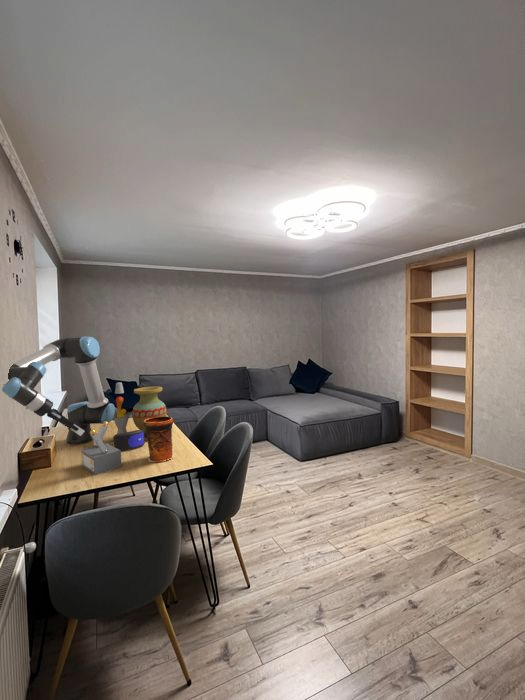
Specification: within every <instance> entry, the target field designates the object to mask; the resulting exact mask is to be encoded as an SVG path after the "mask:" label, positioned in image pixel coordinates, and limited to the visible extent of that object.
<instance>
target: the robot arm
mask: <svg viewBox="0 0 525 700" xmlns="http://www.w3.org/2000/svg"><path fill="white" fill-rule="evenodd" d="M100 347H101V346H100V344H99V342H98V340H97V339H96V338H95V337H93V336H84V335H83V336H72V337H71V336H70V337H69V336H67V337H62V338H60V339H56V340H53V341H52V342H50V343H47V344H45V345H44V346H43V348H42V349H40V350H38V351H35V352H33V353H31V354H29V355H27V356H25V357H23V358H21V359H19V360H17V361H14V362H15V363H14V362H12V363H13V365H12V366H11V367H10V369H9V373H8V379H9V381H8V382H7V383H6V384H3V385H2V388H1V391H2V393H3V394H4V395H6V396H7V397H9V398H10V399H12V400H14V401H15V402H17V403H19V404H20V405H22V406H23V407H25V410H27V411H28V410H30V411H32V412H33V413H34V414H35V415H37V416H38V417H43V416H45V415H46V417H48V418H50V419H52V420H54V421H56V422H58V423H60V424H62V425H63V426H64V427H67V430H68V432H67V435H66V439H65V442H66V443H65V445H68V444H69V445H72V446H75V445H83V444H87V443H91V442H92V441H94V440H93V438H92V436H91V434H90V431H91V430H93V429H92V427H91V425H95V424H96V425H97V424H99V425H100V424H101V425H103V423H104V422H105V421H107V422H108V424H109V423H111V422H112V420H114V419H113V417H114V416H115V414H116V413H115V412H116V408H115V405H114V403H110V401H109V399H108V398H107V397H106V396H105V394H104V389H103V385H102V382H101V379H100V373H99V371H98V367H97V360H98V356H100V352H101V351H100V350H101V348H100ZM63 359H73V361H74V364H76V365H78V367H79V371H80V375H81V378H82V382H83V385H84V388H85V389H84V390H85V392H86V396H87V399H88V401H85V400H84V401H81V402H77V403H72V404H70V405H68V406H67V409H66V410H67V411H66V412H67V413H66V414H67V417H66V416H64V415H63V414H62V413H60V412H59V410H57V409H56V408H53V406H54V402H53V401H52V400H50V399H49V398H46V396H45V395H43V394H41V393H40V392H39V391H37V390H35V388H36V387H37V385H38V384H39V383H40V382H41V380H42V379H43V378H44V376H45V374H46V372H47V368H46V366H45V365H47V364H49V363H50V362H57V361H58V360H63ZM69 445H68V446H69Z"/></svg>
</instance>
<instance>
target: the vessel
mask: <svg viewBox="0 0 525 700" xmlns="http://www.w3.org/2000/svg"><path fill="white" fill-rule="evenodd" d="M174 422H175V421H174V419H173V417H171V416H161V417H154V418H149V419H146V420H144V426H145V428H146V431H147V440H148V441H147V446H148V453H149V456H148V457H147V459H148V461H149V462H150V463H152V462H153V463H158V462H167V461H166V460H169V459H170V458H172V455H173V437H172V436H173V433H172V429H173V424H174ZM169 461H170V460H169Z"/></svg>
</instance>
